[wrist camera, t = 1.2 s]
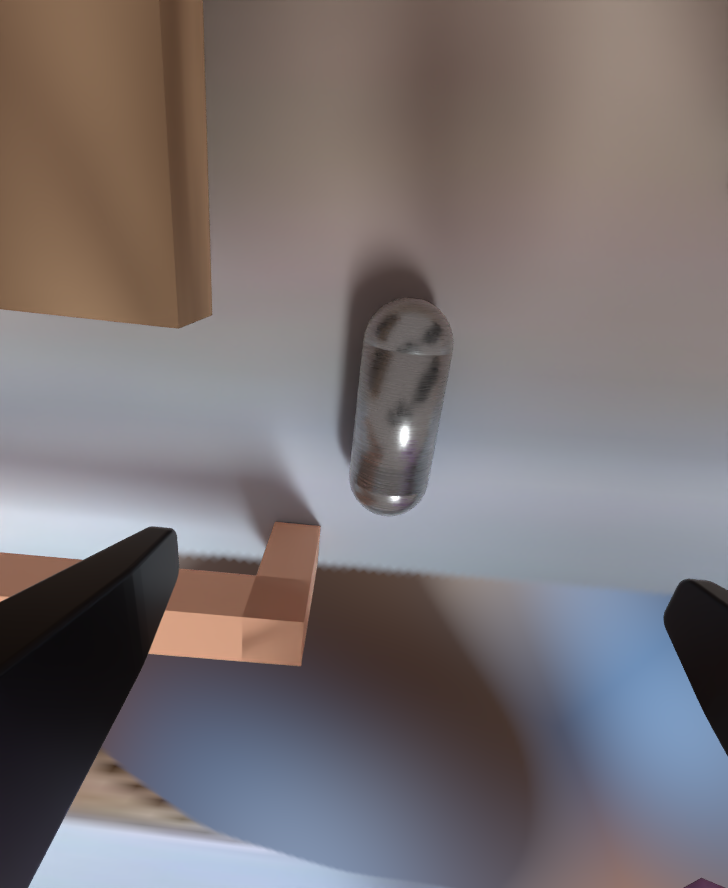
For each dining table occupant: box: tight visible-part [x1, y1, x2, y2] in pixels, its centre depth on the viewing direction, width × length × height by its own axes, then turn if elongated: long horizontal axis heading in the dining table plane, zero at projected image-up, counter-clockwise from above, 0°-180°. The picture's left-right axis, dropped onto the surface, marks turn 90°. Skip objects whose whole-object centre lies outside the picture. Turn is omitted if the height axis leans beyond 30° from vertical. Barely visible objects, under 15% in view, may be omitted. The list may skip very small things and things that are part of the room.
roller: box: [349, 298, 453, 516], centre depth 16 cm, size 8×3×3 cm, turn 174°
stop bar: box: [0, 522, 320, 666], centre depth 17 cm, size 17×2×6 cm, turn 84°
